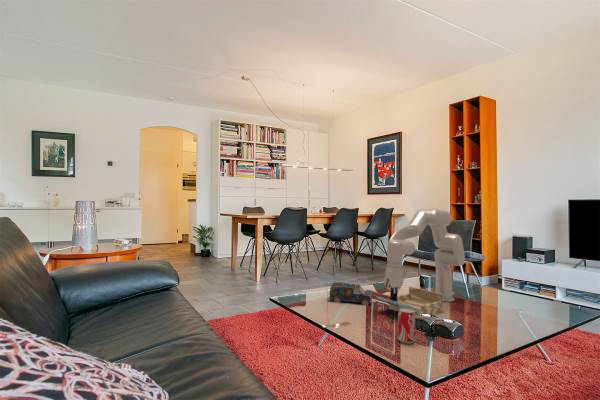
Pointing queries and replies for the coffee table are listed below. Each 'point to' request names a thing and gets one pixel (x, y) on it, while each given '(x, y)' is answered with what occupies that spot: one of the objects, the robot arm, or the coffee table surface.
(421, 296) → the trailer bed
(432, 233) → the robot arm
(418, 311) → the panel
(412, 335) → the soda can
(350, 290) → the toy van
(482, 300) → the coffee table surface
